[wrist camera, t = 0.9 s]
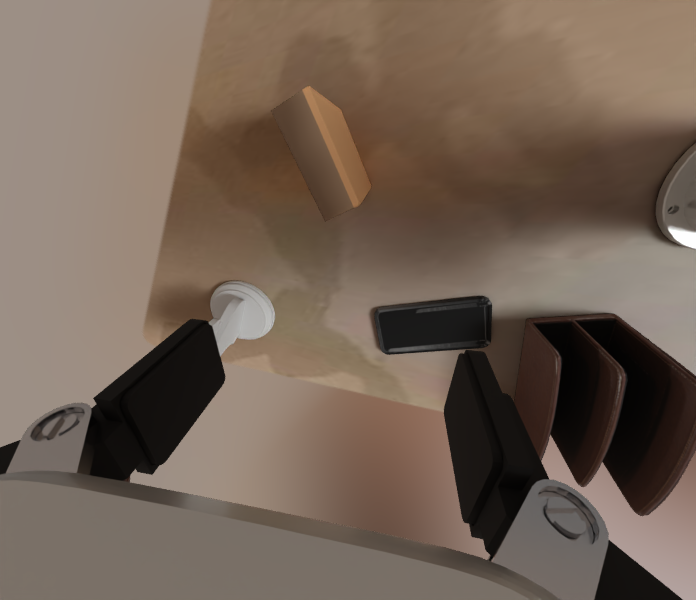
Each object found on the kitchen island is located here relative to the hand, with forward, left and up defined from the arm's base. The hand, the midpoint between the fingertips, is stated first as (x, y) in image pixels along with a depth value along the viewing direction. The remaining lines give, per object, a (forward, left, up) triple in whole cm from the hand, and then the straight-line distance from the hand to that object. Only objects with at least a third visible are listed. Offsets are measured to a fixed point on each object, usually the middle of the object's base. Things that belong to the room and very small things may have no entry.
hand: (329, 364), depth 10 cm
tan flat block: (0, -7, -26) cm, 27 cm away
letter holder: (-15, +30, -26) cm, 43 cm away
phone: (-2, +17, -26) cm, 31 cm away
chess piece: (+23, +5, -26) cm, 35 cm away
